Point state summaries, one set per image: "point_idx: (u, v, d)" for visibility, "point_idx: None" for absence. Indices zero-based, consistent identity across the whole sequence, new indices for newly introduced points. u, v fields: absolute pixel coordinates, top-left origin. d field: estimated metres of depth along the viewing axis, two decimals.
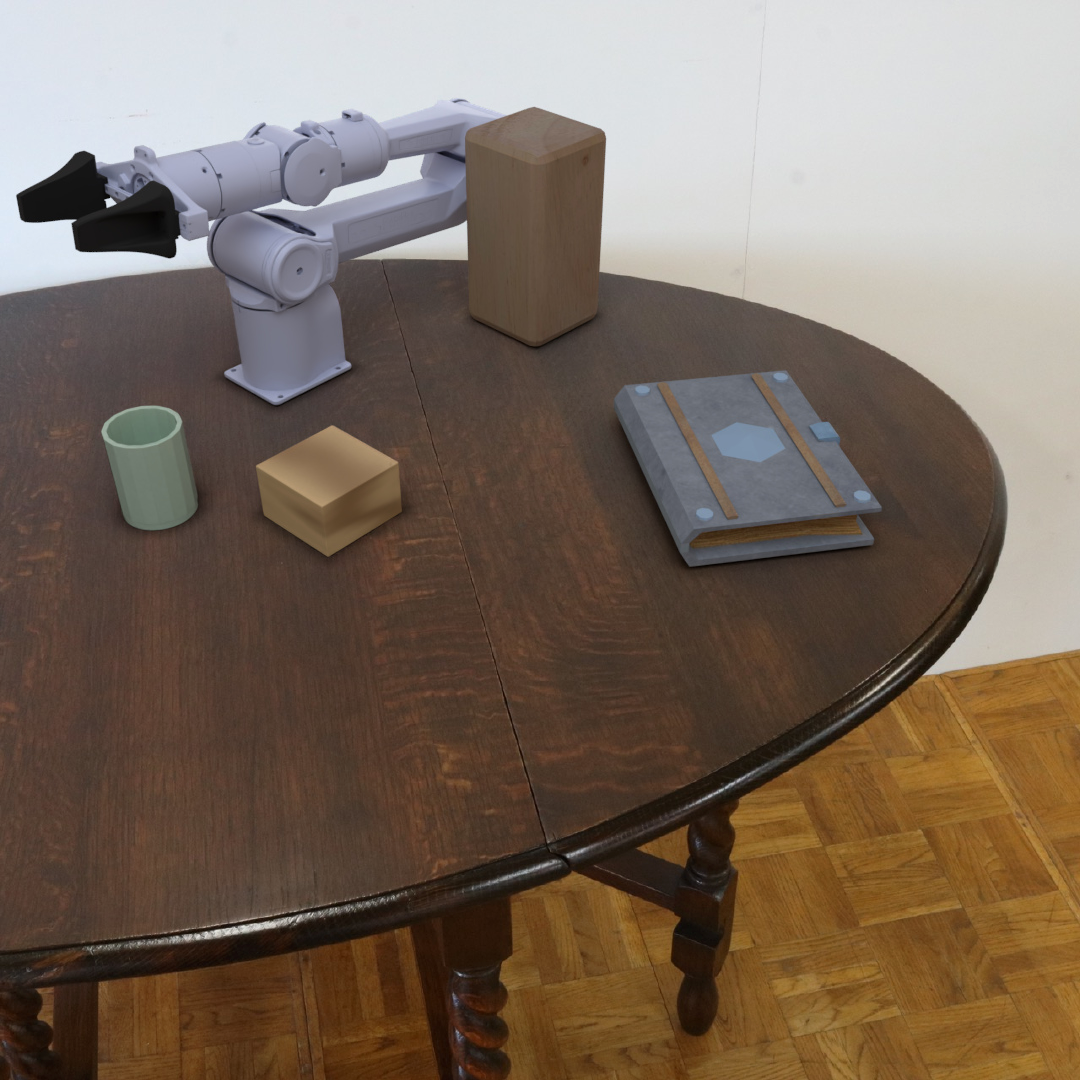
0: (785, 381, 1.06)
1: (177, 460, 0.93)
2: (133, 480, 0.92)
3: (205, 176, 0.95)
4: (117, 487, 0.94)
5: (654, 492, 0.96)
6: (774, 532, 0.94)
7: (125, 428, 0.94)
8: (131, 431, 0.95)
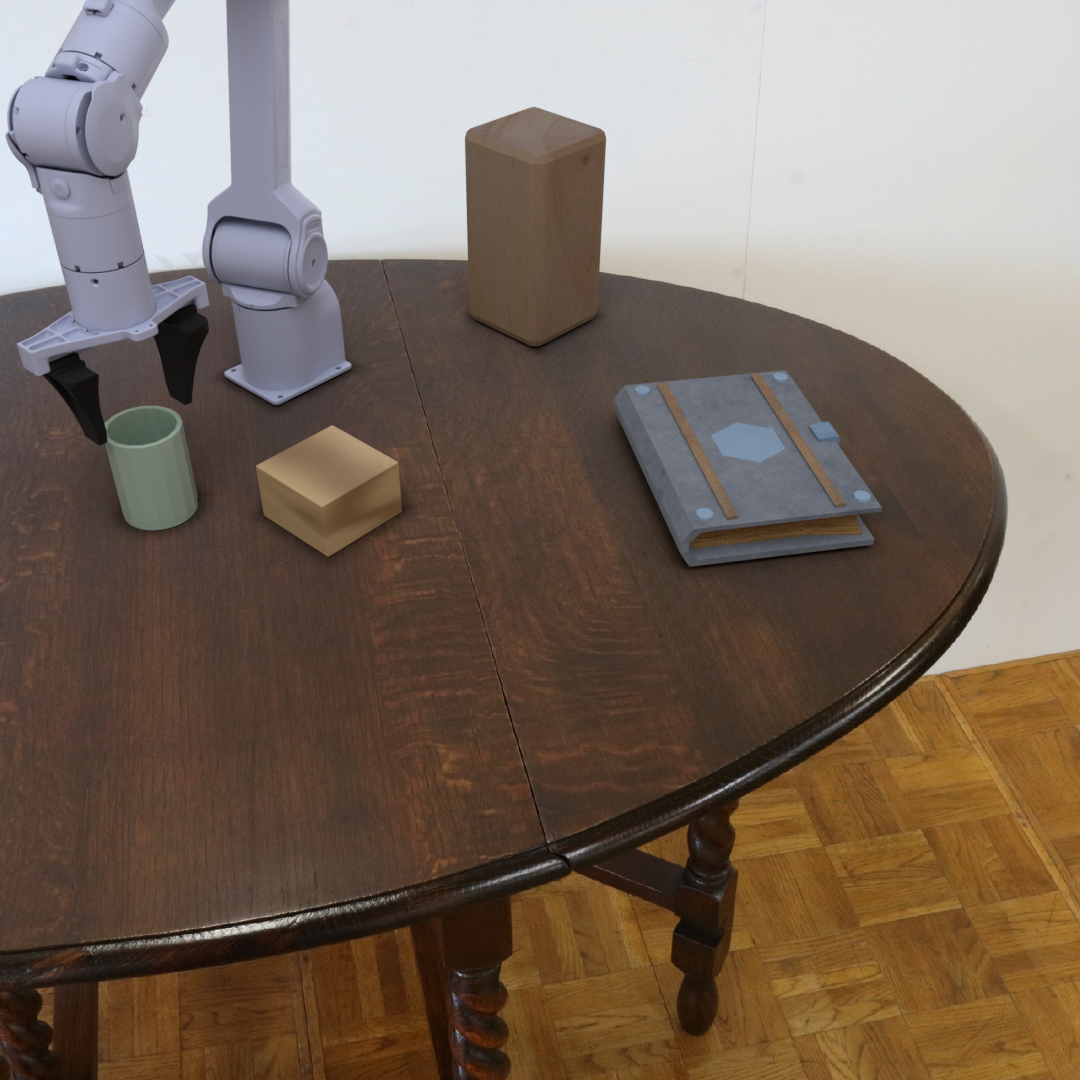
0: (785, 381, 1.06)
1: (177, 460, 0.93)
2: (133, 480, 0.92)
3: (146, 264, 0.85)
4: (117, 487, 0.94)
5: (654, 492, 0.96)
6: (774, 532, 0.94)
7: (125, 428, 0.94)
8: (131, 431, 0.95)
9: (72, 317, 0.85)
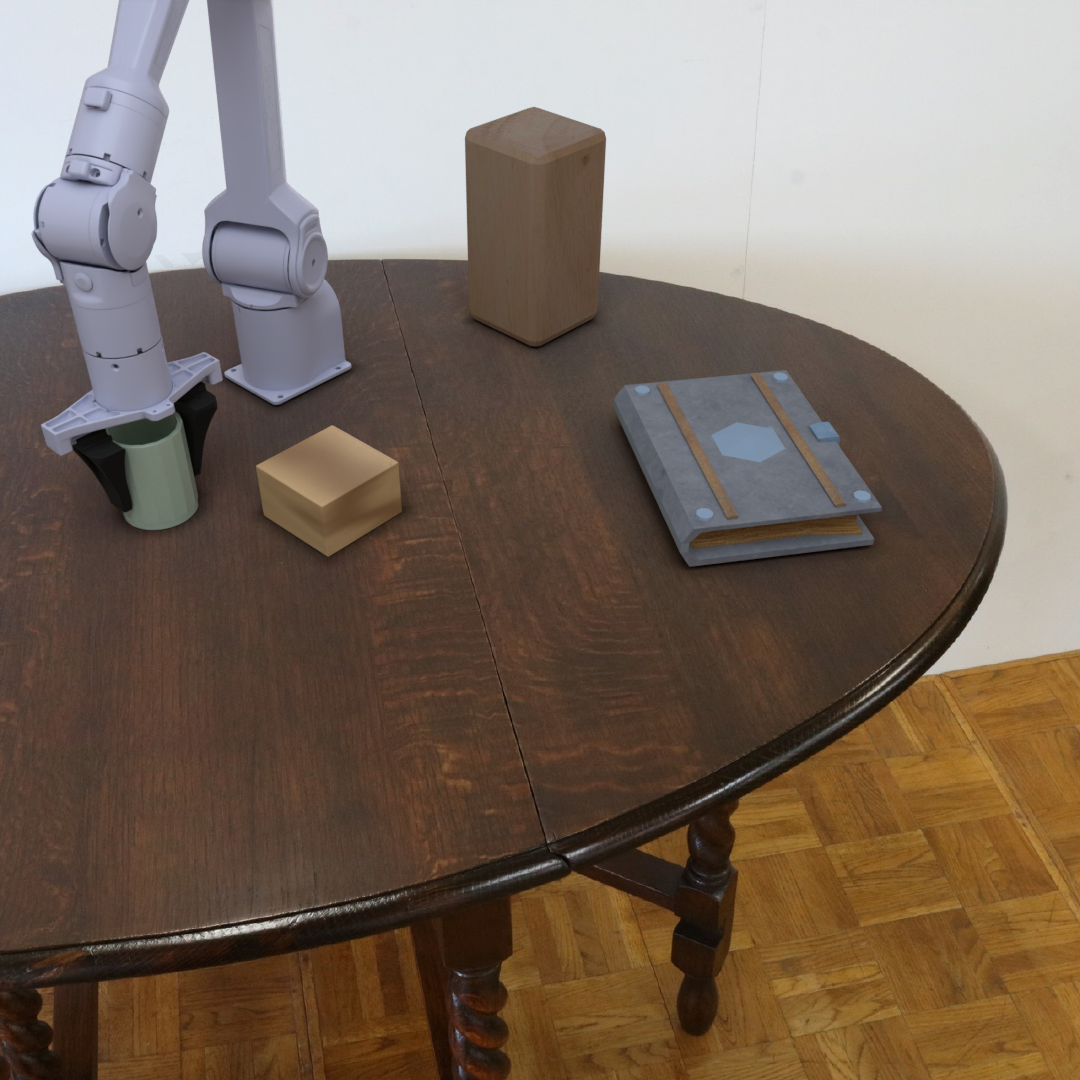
0: (785, 381, 1.06)
1: (177, 460, 0.93)
2: (133, 480, 0.92)
3: (163, 347, 0.89)
4: None
5: (654, 492, 0.96)
6: (774, 532, 0.94)
7: (126, 428, 0.94)
8: (131, 431, 0.95)
9: (93, 396, 0.90)
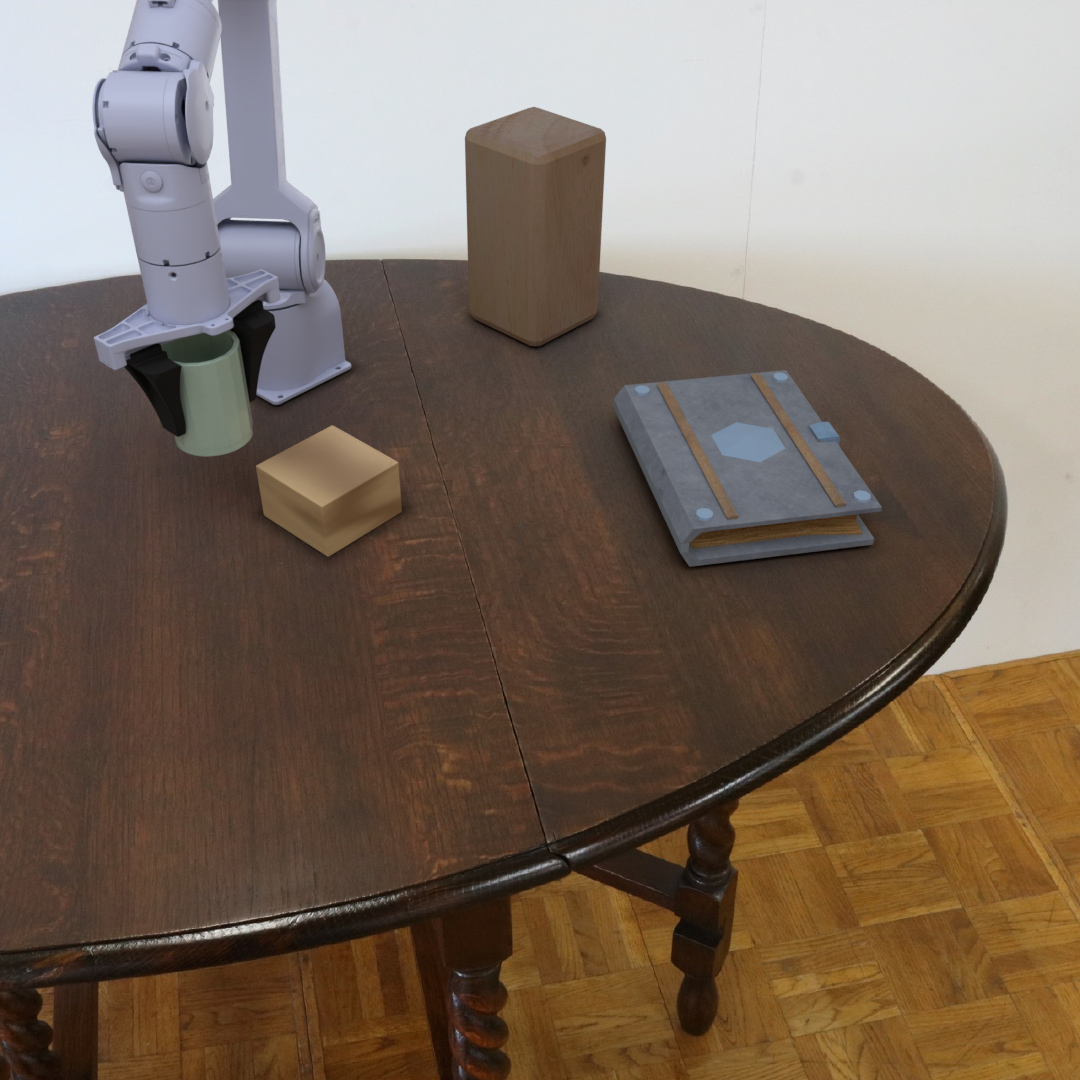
0: (785, 381, 1.06)
1: (234, 381, 0.88)
2: (188, 401, 0.87)
3: (222, 257, 0.84)
4: None
5: (654, 492, 0.96)
6: (774, 532, 0.94)
7: (179, 348, 0.90)
8: (184, 352, 0.90)
9: (147, 311, 0.85)
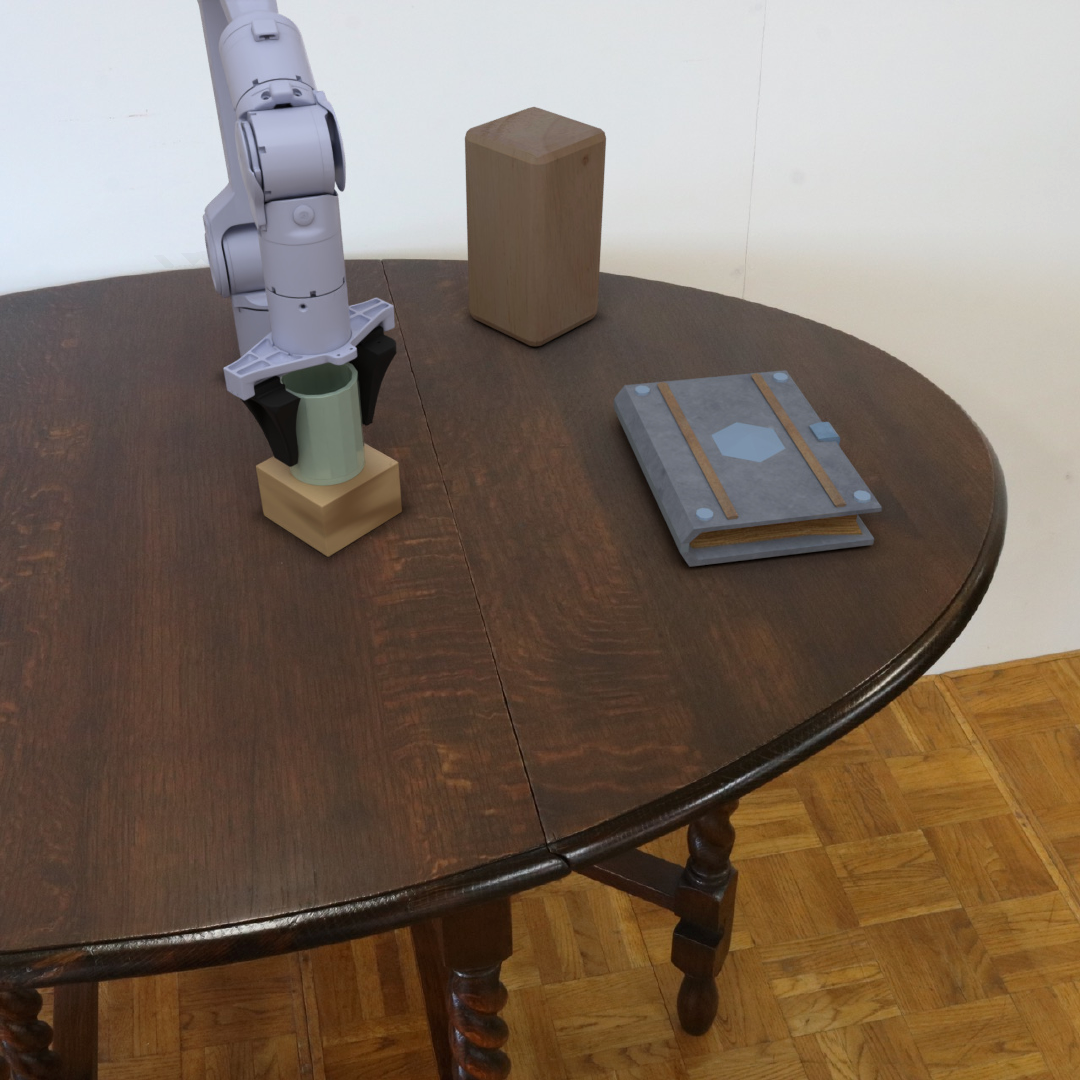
0: (785, 381, 1.06)
1: (353, 412, 0.89)
2: (309, 432, 0.89)
3: (346, 288, 0.85)
4: None
5: (654, 492, 0.96)
6: (774, 532, 0.94)
7: (296, 379, 0.91)
8: (301, 383, 0.92)
9: (271, 340, 0.86)
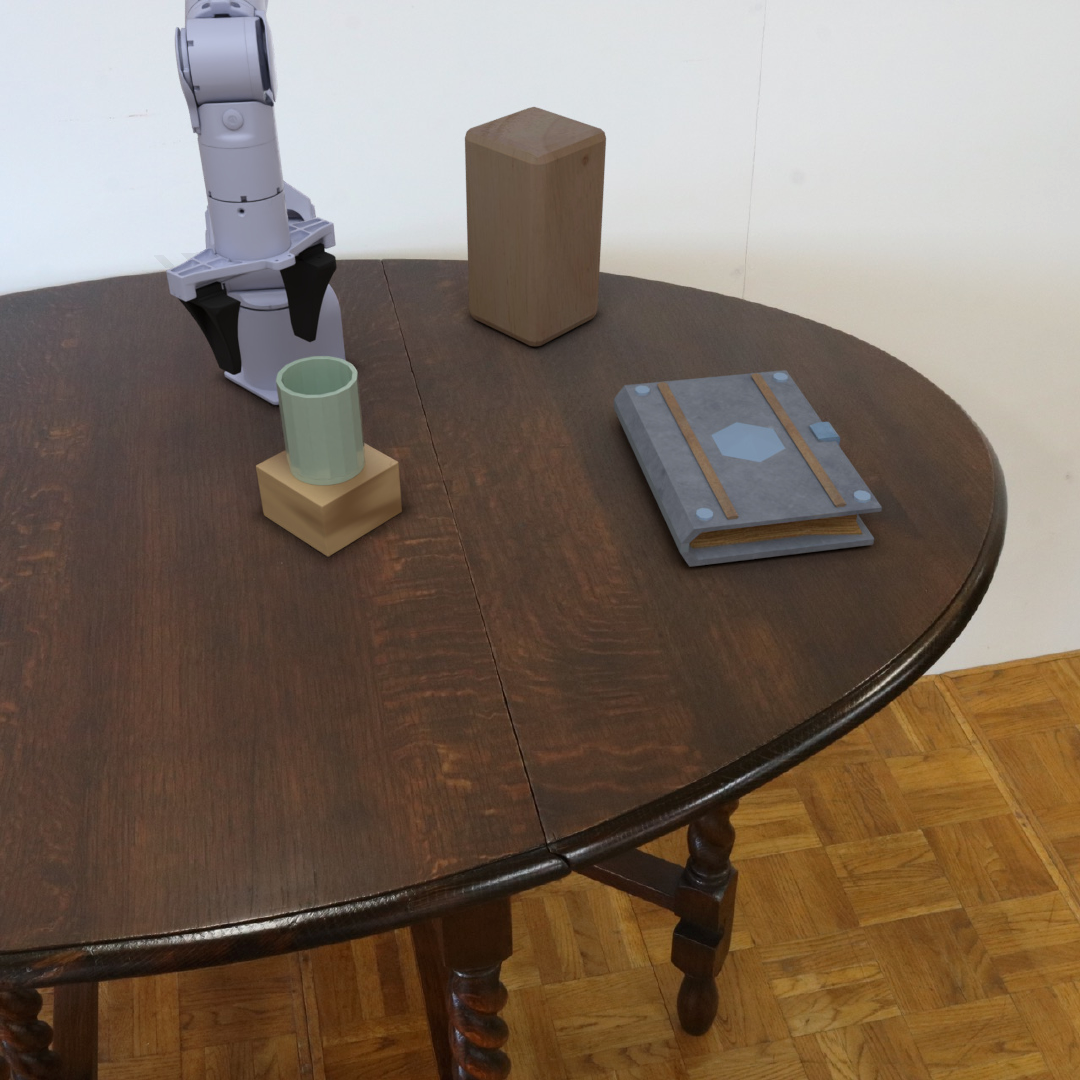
0: (785, 381, 1.06)
1: (353, 411, 0.89)
2: (308, 432, 0.89)
3: (285, 199, 0.90)
4: (289, 440, 0.90)
5: (654, 492, 0.96)
6: (774, 532, 0.94)
7: (296, 379, 0.91)
8: (301, 382, 0.92)
9: (214, 250, 0.90)
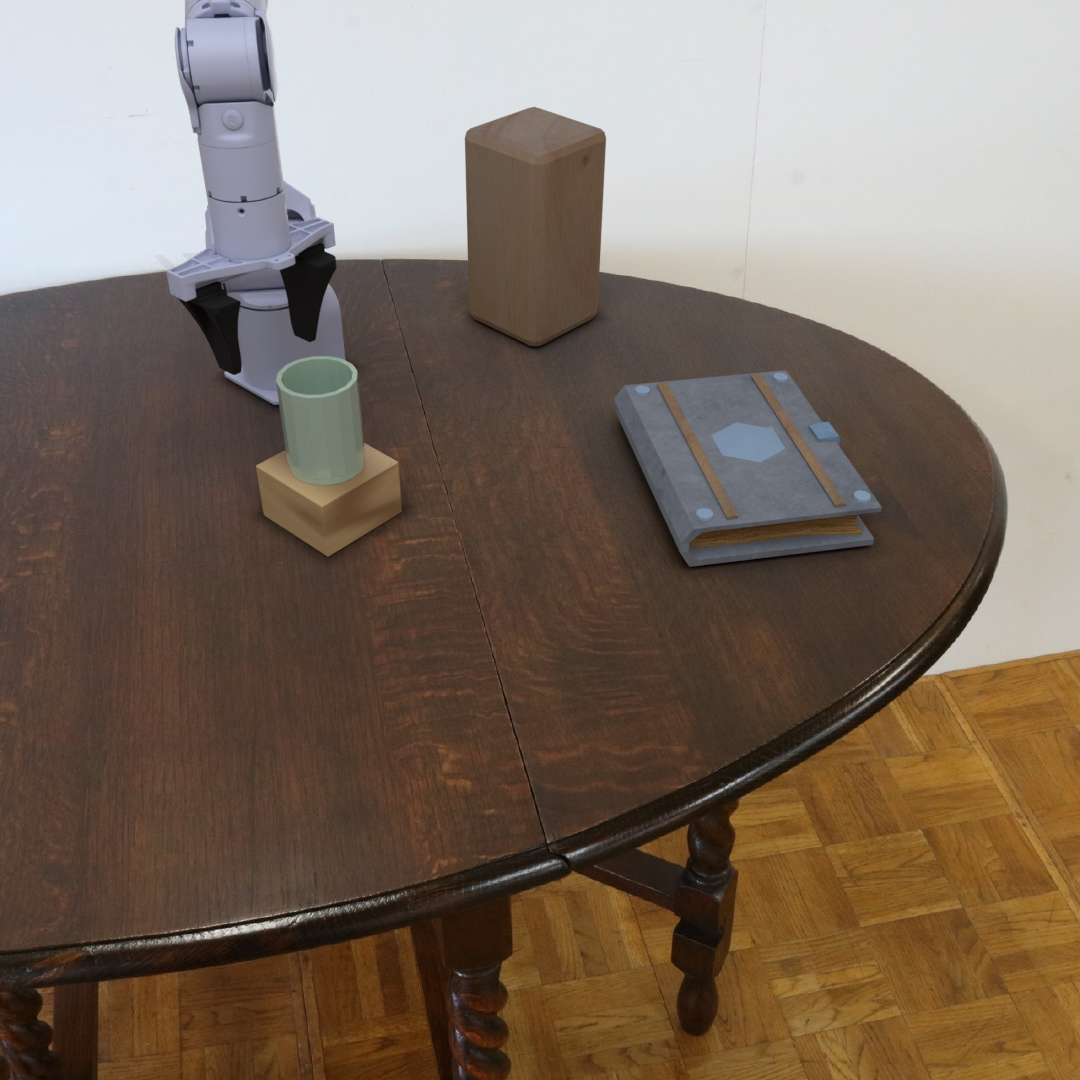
0: (785, 381, 1.06)
1: (353, 411, 0.89)
2: (308, 432, 0.89)
3: (285, 199, 0.90)
4: (289, 440, 0.90)
5: (654, 492, 0.96)
6: (774, 532, 0.94)
7: (296, 379, 0.91)
8: (301, 382, 0.92)
9: (214, 250, 0.90)
